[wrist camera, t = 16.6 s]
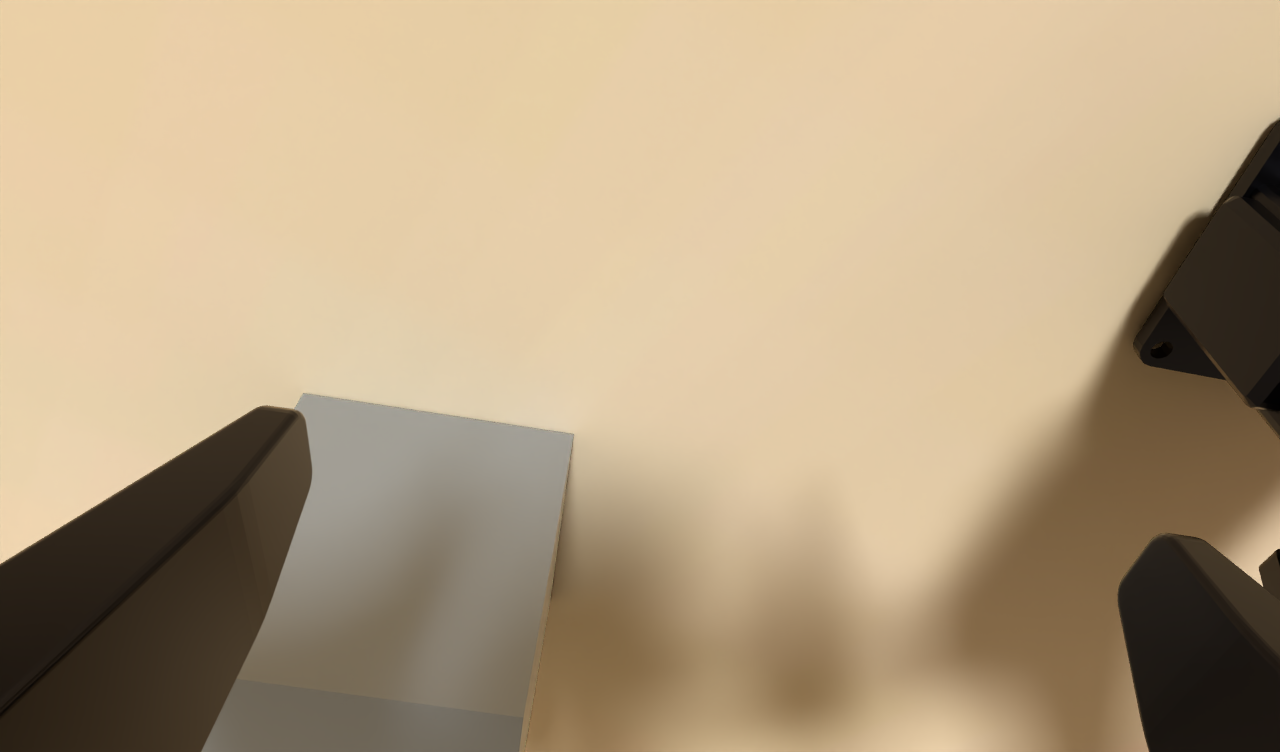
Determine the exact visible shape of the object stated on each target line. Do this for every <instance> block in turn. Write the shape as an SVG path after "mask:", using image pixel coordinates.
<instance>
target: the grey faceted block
mask: <svg viewBox="0 0 1280 752" xmlns="http://www.w3.org/2000/svg"><path fill="white" fill-rule="evenodd" d="M295 410H298V411H300V412H301V413H302V414H303V415H304V417H305V420H306V425H307V432H308V439H309V447H310V454H311V461H312V481H311V486H310V490H309V493H308V496H307V499H306V502H305V505H304V508H303V510H302V513H301V516H300V519H299V522H298V525H297V528H296V531H295V534H294V537H293V539H292V542H291V545H290V548H289V551H288V554H287V557H286V560H285V563H284V566H283V568H282V571H281V574H280V577H279V580H278V583H277V586H276V589H275V592H274V595H273V598H272V600H271V603H270V606H269V608H268V611H267V614H266V616H265V619H264V621H263V624H262V626H261V628H260V630H259V633H258V635H257V637H256V639H255V641H254V643H253V646H252V648H251V650H250V652H249V654H248V656H247V658H246V660H245V662H244V664H243V666H242V668H241V670H240V673H239V675H238V677H237V679H236V681H235V683H234V685H233V687H232V689H231V691H230V693H229V695H228V697H227V699H226V702H225V704H224V706H223V708H222V710H221V712H220V714H219V716H218V718H217V720H216V722H215V724H214V726H213V729H212V731H211V733H210V735H209V737H208V739H207V741H206V743H205V745H204V747H203V749H202V751H201V752H525V747H526V741H527V735H528V730H529V724H530V718H531V712H532V706H533V700H534V694H535V688H536V683H537V677H538V671H539V665H540V659H541V653H542V647H543V641H544V636H545V630H546V624H547V618H548V612H549V606H550V600H551V593H552V586H553V579H554V572H555V565H556V557H557V550H558V543H559V536H560V529H561V522H562V515H563V507H564V500H565V493H566V486H567V479H568V472H569V465H570V457H571V450H572V443H573V436H574V434H568V433H562V432H555V431H548V430H542V429H535V428H528V427H522V426H515V425H509V424H502V423H495V422H489V421H482V420H476V419H469V418H462V417H456V416H449V415H443V414H436V413H429V412H423V411H416V410H410V409H403V408H396V407H390V406H383V405H377V404H370V403H363V402H357V401H350V400H344V399H337V398H330V397H324V396H317V395H311V394H304V393H303V395H302V397H301V398H300V400H299V402H298V403H297V405H296V407H295Z"/></svg>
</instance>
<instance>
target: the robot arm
mask: <svg viewBox="0 0 1280 752" xmlns="http://www.w3.org/2000/svg"><path fill="white" fill-rule="evenodd" d="M1160 342H1165V343H1164V344H1163V345H1162V346H1161V347H1158V348H1156V349H1152V347H1153V346H1155V345H1156V344H1158V343H1160ZM1133 346H1134V350H1135V352H1136V353H1137V355H1138V356H1139V358H1140V359H1141V360H1142V361H1143V363H1144V364H1147V365H1149V366H1153V367H1158V368H1164V369H1169V370H1175V371H1180V372H1185V373H1191V374H1196V375H1201V376H1207V377H1212V378H1218V379H1223V380H1227V381H1228V383H1229V384H1230V385H1231V386H1232V388H1233V389H1234V390H1235V391H1236V393H1237V394H1238V395H1239V397H1240V398H1241V399H1242V400H1243V402H1244V403H1245V404H1246V405H1248V406H1249V407H1251V408H1255V409H1256V410H1257V411H1258V413H1259V414H1260V415H1261V416H1262V418H1263V419H1264V420H1265V421H1266V423H1267V424H1268V425H1269V426H1270V428H1271V429H1272V430H1273V431H1274V433H1275V434H1276V435H1277V436H1278V438H1279V439H1280V121H1279V122H1278V123H1277V124H1276V125H1275V126H1274V128H1273V129H1272V131H1271V132H1270V134H1269V135H1268V137H1267V138H1266V140H1265V141H1264V143H1263V144H1262V146H1261V147H1260V149H1259V151H1258V152H1257V154H1256V155H1255V157H1254V158H1253V160H1252V161H1251V163H1250V164H1249V166H1248V167H1247V169H1246V170H1245V172H1244V173H1243V175H1242V176H1241V178H1240V179H1239V181H1238V182H1237V184H1236V186H1235V187H1234V189H1233V190H1232V192H1231V193H1230V195H1229V196H1228V198H1227V199H1226V201H1225V202H1224V203H1223V204H1222V205H1221V206H1220V207H1219V209H1218V210H1217V212H1216V213H1215V215H1214V217H1213V218H1212V220H1211V221H1210V223H1209V224H1208V226H1207V227H1206V229H1205V230H1204V232H1203V233H1202V235H1201V236H1200V238H1199V239H1198V241H1197V242H1196V244H1195V245H1194V247H1193V249H1192V250H1191V252H1190V253H1189V255H1188V256H1187V258H1186V259H1185V261H1184V262H1183V264H1182V265H1181V267H1180V268H1179V270H1178V271H1177V273H1176V274H1175V276H1174V277H1173V279H1172V281H1171V282H1170V284H1169V285H1168V287H1167V288H1166V290H1165V291H1164V295H1163V297H1162V298H1161V300H1160V301H1159V303H1158V304H1157V306H1156V307H1155V309H1154V310H1153V312H1152V313H1151V315H1150V316H1149V318H1148V319H1147V321H1146V322H1145V324H1144V325H1143V327H1142V329H1141V330H1140V332H1139V333H1138V335H1137V336H1136V338H1135V340H1134V343H1133ZM311 481H312V461H311V454H310V447H309V439H308V432H307V425H306V420H305V417H304V415H303V414H302V413H301V412H300V411H298V410H295V409H288V408H281V407H274V406H260V407H257V408H255V409H253V410H252V411H250V412H248V413H247V414H245V415H244V416H242V417H240V418H239V419H237V420H235V421H234V422H232V423H230V424H229V425H227V426H226V427H224V428H222V429H221V430H219V431H217V432H216V433H214V434H212V435H211V436H209V437H208V438H206V439H204V440H203V441H201V442H199V443H198V444H196V445H194V446H193V447H191V448H190V449H188V450H186V451H185V452H183V453H181V454H180V455H178V456H176V457H175V458H173V459H172V460H170V461H168V462H167V463H165V464H163V465H162V466H160V467H158V468H157V469H155V470H154V471H152V472H150V473H149V474H147V475H145V476H144V477H142V478H140V479H139V480H137V481H135V482H134V483H132V484H131V485H129V486H127V487H126V488H124V489H122V490H121V491H119V492H117V493H116V494H114V495H113V496H111V497H109V498H108V499H106V500H104V501H103V502H101V503H99V504H98V505H96V506H95V507H93V508H91V509H90V510H88V511H86V512H85V513H83V514H81V515H80V516H78V517H77V518H75V519H73V520H72V521H70V522H68V523H67V524H65V525H63V526H62V527H60V528H59V529H57V530H55V531H54V532H52V533H50V534H49V535H47V536H45V537H44V538H42V539H41V540H39V541H37V542H36V543H34V544H32V545H31V546H29V547H27V548H26V549H24V550H23V551H21V552H19V553H18V554H16V555H14V556H13V557H11V558H9V559H8V560H6V561H5V562H3V563H1V564H0V752H201V751H202V749H203V747H204V745H205V743H206V741H207V739H208V737H209V735H210V733H211V731H212V729H213V726H214V724H215V722H216V720H217V718H218V716H219V714H220V712H221V710H222V708H223V706H224V704H225V702H226V699H227V697H228V695H229V693H230V691H231V689H232V687H233V685H234V683H235V681H236V679H237V677H238V675H239V673H240V670H241V668H242V666H243V664H244V662H245V660H246V658H247V656H248V654H249V652H250V650H251V648H252V646H253V643H254V641H255V639H256V637H257V635H258V633H259V630H260V628H261V626H262V624H263V621H264V619H265V616H266V614H267V611H268V608H269V606H270V603H271V600H272V598H273V595H274V592H275V589H276V586H277V583H278V580H279V577H280V574H281V571H282V568H283V566H284V563H285V560H286V557H287V554H288V551H289V548H290V545H291V542H292V539H293V537H294V534H295V531H296V528H297V525H298V522H299V519H300V516H301V513H302V510H303V508H304V505H305V502H306V499H307V496H308V493H309V490H310V486H311ZM1259 572H1260V575H1261V579H1262V583H1263V587H1262V586H1261V585H1260V584H1259V583H1257V582H1256V581H1255V580H1254V579H1252V578H1251V577H1250V576H1249V575H1247V574H1246V573H1245V572H1244V571H1242V570H1241V569H1240V568H1239V567H1237V566H1236V565H1235V564H1234V563H1232V562H1231V561H1230V560H1229V559H1227V558H1226V557H1225V556H1224V555H1222V554H1221V553H1220V552H1219V551H1217V550H1216V549H1215V548H1214V547H1212V546H1211V545H1210V544H1209V543H1207V542H1206V541H1204V540H1202V539H1200V538H1196V537H1191V536H1184V535H1177V534H1170V533H1163V534H1159V535H1158V536H1156V537H1154V538H1153V539H1152V540H1151V541H1150V542H1149V543H1148V545H1147V546H1146V547H1145V549H1144V550H1143V551H1142V553H1141V554H1140V556H1139V557H1138V558H1137V560H1136V561H1135V562H1134V564H1133V565H1132V566H1131V568H1130V569H1129V570H1128V572H1127V573H1126V574H1125V576H1124V577H1123V579H1122V580H1121V583H1120V585H1119V589H1118V607H1119V612H1120V617H1121V622H1122V627H1123V632H1124V638H1125V643H1126V648H1127V653H1128V658H1129V663H1130V668H1131V673H1132V678H1133V683H1134V688H1135V693H1136V698H1137V703H1138V708H1139V713H1140V718H1141V722H1142V726H1143V731H1144V735H1145V739H1146V742H1147V746H1148V750H1149V752H1280V549H1278V550H1276V551H1275V552H1274V553H1273V554H1272V555H1271V556H1270V557H1269V558H1268V559H1266V560H1265V561H1264V562H1263V563H1262V564H1261V565H1260V566H1259Z"/></svg>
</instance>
